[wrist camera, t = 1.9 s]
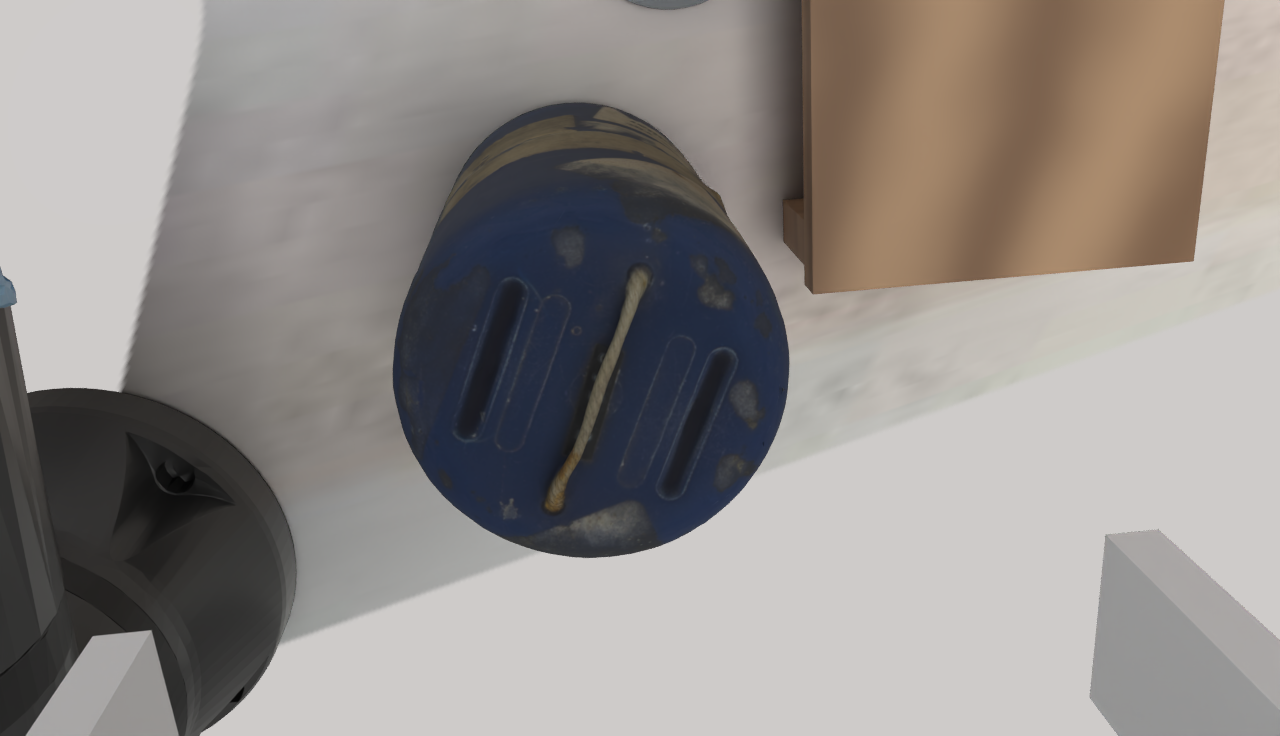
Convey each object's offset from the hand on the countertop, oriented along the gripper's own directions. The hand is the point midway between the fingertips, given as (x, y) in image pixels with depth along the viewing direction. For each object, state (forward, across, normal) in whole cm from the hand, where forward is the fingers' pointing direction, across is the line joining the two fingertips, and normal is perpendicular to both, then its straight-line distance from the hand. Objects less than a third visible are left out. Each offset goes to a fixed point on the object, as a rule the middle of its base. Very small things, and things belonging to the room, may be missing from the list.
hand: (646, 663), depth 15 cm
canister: (+27, 0, 0) cm, 27 cm away
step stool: (+27, +14, +5) cm, 31 cm away
